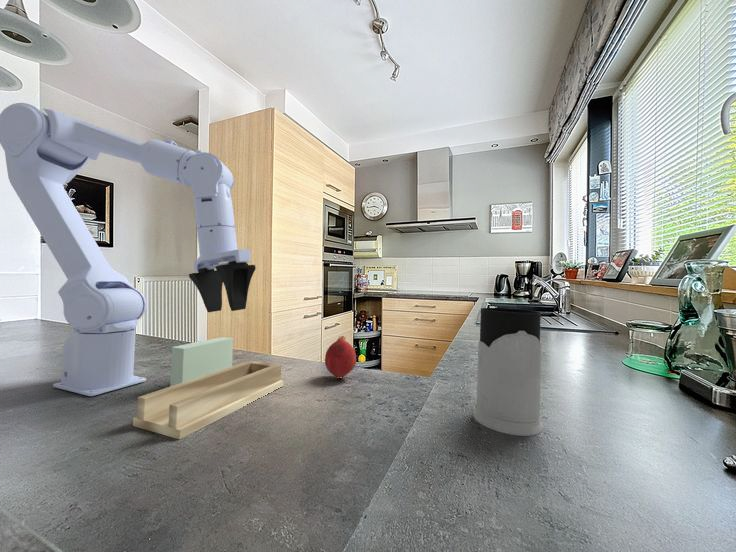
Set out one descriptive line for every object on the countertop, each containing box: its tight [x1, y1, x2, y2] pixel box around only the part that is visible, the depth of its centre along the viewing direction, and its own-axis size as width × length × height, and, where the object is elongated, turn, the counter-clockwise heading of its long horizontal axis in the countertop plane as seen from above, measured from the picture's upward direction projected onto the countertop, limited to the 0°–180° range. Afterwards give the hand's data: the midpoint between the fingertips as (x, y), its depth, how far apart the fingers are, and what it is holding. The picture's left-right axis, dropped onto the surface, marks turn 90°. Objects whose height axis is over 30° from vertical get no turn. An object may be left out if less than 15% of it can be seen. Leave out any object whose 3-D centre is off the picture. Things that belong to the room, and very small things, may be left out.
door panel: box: [169, 336, 234, 387], centre depth 52 cm, size 2×10×7 cm, turn 160°
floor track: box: [132, 360, 284, 440], centre depth 44 cm, size 8×19×4 cm, turn 160°
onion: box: [324, 334, 357, 378], centre depth 57 cm, size 6×6×8 cm
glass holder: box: [472, 307, 544, 437], centre depth 45 cm, size 9×14×15 cm, turn 177°
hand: (226, 310), depth 51 cm, fingers open, 7 cm apart
